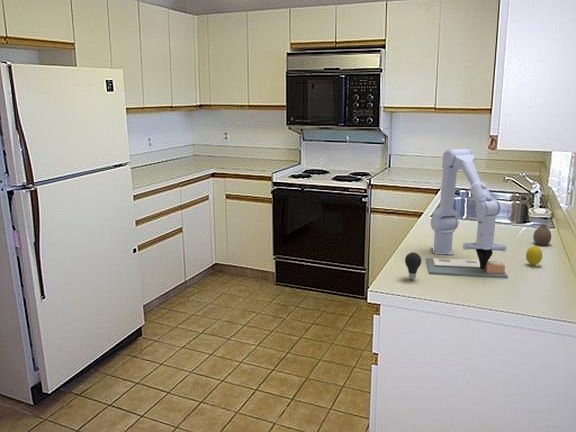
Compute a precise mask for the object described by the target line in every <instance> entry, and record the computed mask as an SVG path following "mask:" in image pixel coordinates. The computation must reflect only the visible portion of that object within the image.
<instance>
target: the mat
mask: <svg viewBox="0 0 576 432" xmlns="http://www.w3.org/2000/svg"><path fill="white" fill-rule="evenodd" d="M433 258H434V257H433ZM433 258H431V257H426V258H425V261H427V262H426V266H427V265H428V266H427V270H428V274H429V275H437V276H438V275H439V276H456V277H457V276H458V277H475V278H476V277H477V278H478V277H479V278H493V279H494V278H495V279H508V278H509V275H508V274H507V273H506V271H505V272H504V274H498V273H487V272H486V271H485V270H481V269H475V268H455V267H436V266H435V265H434V261H433ZM488 262H498V261H496V260H495V261H492V260H488Z"/></svg>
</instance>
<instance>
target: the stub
mask: <svg viewBox="0 0 576 432" xmlns="http://www.w3.org/2000/svg"><path fill="white" fill-rule="evenodd" d="M505 269H506V265H505V264H504V262H502V261H497V262H487V264H486V267H485V271H486V272H487V273H498V274H504V272H505V273H506V271H505Z"/></svg>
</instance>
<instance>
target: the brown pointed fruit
mask: <svg viewBox="0 0 576 432" xmlns="http://www.w3.org/2000/svg"><path fill="white" fill-rule="evenodd" d="M532 236H533V237H532V239H533V242H534V243H535V245H536V246H537V245H538V246H540V247H546V246H547V245H549V244H550V243H551V240H552V233H551V231H550V229H549V228H548V225H547V224H545V223H544V224H540V225H539V226H538V227H537V229H536V230H534V232H533V235H532Z"/></svg>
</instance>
